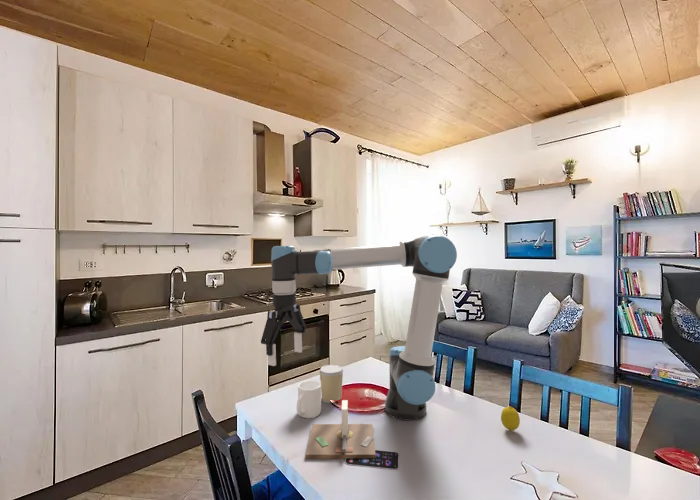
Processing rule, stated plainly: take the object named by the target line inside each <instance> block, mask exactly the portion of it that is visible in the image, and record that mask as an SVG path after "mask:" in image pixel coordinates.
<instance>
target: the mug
mask: <svg viewBox="0 0 700 500" xmlns="http://www.w3.org/2000/svg"><path fill="white" fill-rule="evenodd" d="M297 392H298V393H297V397H298V398H297V400H296V401H297V402H296V412H297V414H298V415H299V417H301V418H303V419H315V418H317V417H318V416H319V415H321V413H322V394H321V381H317V380H305V381H302V382H299V384H298V385H297Z"/></svg>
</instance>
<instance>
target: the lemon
mask: <svg viewBox="0 0 700 500" xmlns="http://www.w3.org/2000/svg"><path fill="white" fill-rule="evenodd" d="M520 420H521V419H520V415H519V412H518V411H517V410H516V409H515V408H514V407H512V406H510V405H509V406H506V407H504V408H503V409H502V410H501V415H500V421H501V423H502V425H503V427H504V428H505V429H507V430H508V431H509V432H512V431H515V430H517V429H518V428H519V427H520V423H521V422H520Z"/></svg>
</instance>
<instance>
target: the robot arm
mask: <svg viewBox="0 0 700 500" xmlns="http://www.w3.org/2000/svg"><path fill="white" fill-rule="evenodd" d="M457 257H458V253H457V248H456V246H455V244H454V243H453V241H452V240H450V239H449V238H448V237H446V236H445V235H444V236H443V235H440V234H430V235H424V236H419V237H416V238H412V239H407V240H400V241H399V243H392V244H381V245H380V244H378V245H368V246H354V247H345V248H332V249H314V250H311V251H310V250H308V251H307V250H306V251H297V250H296V249H295V246H294V245H275V246H274V245H273V247H272V248H271V259H270V263H271V264H270V265H271V284H272V285H271V286H272V293H273V294H272V297H271V298H272V306H273V307H274V311H267V316H266V318H267V319H266V322H265V326H264V330H263V332H262V336H261V339H260V343H261V345H265V346H266V347H265V349H266V350H265V352H266V354H265V355H266V356H267V366H272V367H275V366H277V354H276V353H277V351H276V346H277V345H276V343H275V341H276V338H277V337H278V335H279V333H280V331H281V327H282V326H283V325H284V324H286V323H287V322H288V323H289V324H290V325H291V326H292V328H293V329H294V331H295V332H294V334H293V339H294V340H293V342H294V347H293V348H294V353H303V334H304V333H305V332H306V329H307V325H306V323H305V320H304V317H303V315H302V314H303V313H302V311H301V305H300V304H297V294H296V291H297V285H296V275H298V276H299V275H300V276H301V275H320V276H321V275H327V274H331V272H332V270H334V271H335V270H346V269H359V268H370V267H382V266H383V267H384V266H385V267H387V266H397V265H398V266H399V265H400V266H402V267H405V268H406V267H407V268H408V267H412V276H414V278H415V285H414V291H413V295H412V302H411V309H410V316H409V320H408V329H407V334H406V340H405V345H399V346H394V347H391V348H390V349H389V355H388V357H389V389H388V391H387V395H386V397H385V401H384V410H385V412H386V413H387V414H388V415H389V416H391V417H393V418H395V419H399V420H405V421H413V420H414V421H415V420H419V419H421V418H423V417H424V416H425V415H426V414H427V402H429V401H430V400H432V398H434V395H435V392H436V381H435V379H434V370H435V363H436V361H435V359H433V357H432V352H433V347H434V345H433V344H434V340H435V334H436V327H437V322H438V315H439V309H440V305H441V304H440V302H441V296H442V289H443V286H444V285H443V284H444V283H446V282H447V281H449V278H450V271H451V269H452V268H453V267H454V265H455V264H456V263H457ZM385 408H386V409H385Z"/></svg>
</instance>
